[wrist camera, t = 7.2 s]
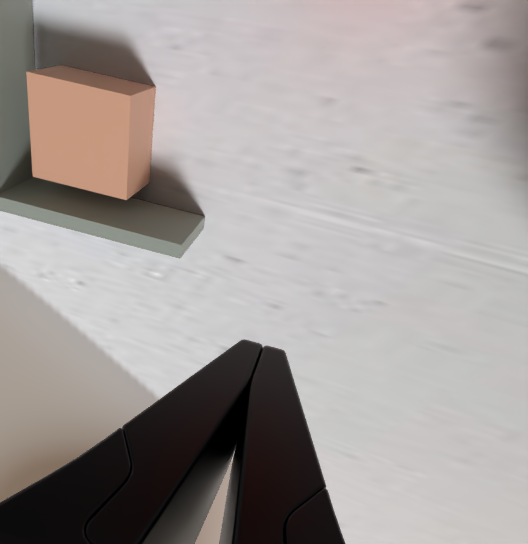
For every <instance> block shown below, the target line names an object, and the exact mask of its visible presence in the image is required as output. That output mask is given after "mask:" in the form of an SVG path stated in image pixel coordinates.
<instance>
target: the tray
mask: <svg viewBox="0 0 528 544" xmlns="http://www.w3.org/2000/svg"><path fill="white" fill-rule="evenodd" d="M32 70H35V56H34V33H33V11H32V0H0V211H3V212H7V213H11V214H15V215H18V216H22V217H26V218H30V219H33V220H37V221H41V222H45V223H48V224H52V225H56V226H60V227H63V228H67V229H71V230H75V231H78V232H82V233H86V234H90V235H94V236H97V237H101V238H105V239H109V240H112V241H116V242H120V243H124V244H127V245H131V246H135V247H139V248H142V249H146V250H150V251H154V252H157V253H161V254H165V255H169V256H172V257H176V258H181V257H182V255H183V254H184V253H185V252H186V250H187V249H188V248H189V247H190V245H191V244H192V243H193V241H194V240H195V239H196V238H197V236H198V235H199V234H200V232H201V231H202V230H203V228H204V220H205V217H204V216H201V215H197V214H193V213H189V212H185V211H181V210H177V209H173V208H170V207H166V206H162V205H158V204H154V203H150V202H146V201H142V200H139V199H135V198H131V197H130V198H129V199H127V200H124V199H120V198H116V197H112V196H108V195H104V194H100V193H96V192H92V191H88V190H84V189H80V188H76V187H72V186H68V185H64V184H60V183H56V182H52V181H48V180H44V179H40V178H36V177H33V174H32V157H31V141H30V124H29V108H28V91H27V75H26V72H27V71H32Z"/></svg>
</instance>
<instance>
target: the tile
mask: <svg viewBox="0 0 528 544" xmlns="http://www.w3.org/2000/svg"><path fill="white" fill-rule="evenodd" d="M26 75H27V91H28V108H29V124H30V141H31V157H32V174H33V177H36V178H40V179H44V180H48V181H52V182H56V183H60V184H64V185H68V186H72V187H76V188H80V189H84V190H88V191H92V192H96V193H100V194H104V195H108V196H112V197H116V198H120V199H124V200H127V199H129V198H130V197H131V196H133V195H134V194H135V193H137V192H138V191H139V190H140V189H142V188H143V187H144V186H146V185H147V184H148V183H149V182H150V168H151V152H152V137H153V122H154V106H155V91H156V87H155V86H150V85H146V84H142V83H137V82H133V81H129V80H124V79H120V78H115V77H111V76H107V75H102V74H98V73H94V72H89V71H85V70H81V69H76V68H72V67H67V66H63V65H59V66H54V67H48V68H43V69H38V70H32V71H27V72H26Z"/></svg>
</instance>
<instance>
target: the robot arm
mask: <svg viewBox="0 0 528 544" xmlns="http://www.w3.org/2000/svg"><path fill="white" fill-rule="evenodd" d="M234 451H235V453H234ZM233 454H234V457H233ZM232 457H233V463H232V468H231V473H230V480H229V486H228V492H227V498H226V504H225V511H224V517H223V523H222V529H221V536H220V541H219V544H345V541H344V539H343V536H342V533H341V530H340V527H339V524H338V521H337V518H336V515H335V513H334V510H333V506H332V503H331V500H330V496H329V493H328V490H327V489H326V484H325V481H324V478H323V474H322V471H321V468H320V464H319V461H318V458H317V455H316V451H315V448H314V445H313V442H312V438H311V435H310V432H309V428H308V425H307V422H306V419H305V415H304V412H303V409H302V405H301V402H300V399H299V396H298V392H297V389H296V386H295V383H294V379H293V376H292V373H291V369H290V366H289V363H288V360H287V356H286V353H285V351H284V350H281V349H278V348H274V347H270V346H264V347H262V345H261V344H259V343H256V342H252V341H249V340H241V341H239V342H238V343H237V344H235V345H234V346H233V347H231V348H230V349H228V350H227V351H226V352H224V353H223V354H221V355H220V356H219V357H217V358H216V359H215V360H213V361H212V362H210V363H209V364H208V365H206V366H205V367H204V368H202V369H201V370H199V371H198V372H197V373H195V374H194V375H193V376H191V377H190V378H188V379H187V380H186V381H184V382H183V383H181V384H180V385H179V386H177V387H176V388H175V389H173V390H172V391H170V392H169V393H168V394H166V395H165V396H164V397H162V398H161V399H159V400H158V401H157V402H155V403H154V404H153V405H151V406H150V407H148V408H147V409H146V410H144V411H143V412H141V413H140V414H139V415H137V416H136V417H135V418H133V419H132V420H130V421H129V422H128V423H126V424H125V425H124V426H123V427H122V428H119V429H118V430H117V431H115V432H113V433H112V434H111V435H109V436H108V437H107V438H106V439H104V440H102V441H101V442H100V443H98V444H97V445H95V446H94V447H92V448H91V449H89V450H88V451H86V452H85V453H83V454H82V455H80V456H79V457H77V458H76V459H74V460H73V461H71V462H69V463H67V464H66V465H64V466H62V467H61V468H59V469H58V470H56V471H54V472H53V473H51V474H49V475H48V476H46V477H44V478H42V479H41V480H39V481H37V482H35V483H34V484H32V485H30V486H28V487H27V488H25V489H23V490H21V491H20V492H18V493H16V494H14V495H13V496H11V497H9V498H7V499H6V500H4V501H2V502H1V503H0V544H195V542H196V539H197V537H198V535H199V532H200V530H201V528H202V526H203V524H204V521H205V519H206V517H207V514H208V512H209V510H210V508H211V506H212V503H213V501H214V499H215V496H216V494H217V492H218V490H219V487H220V485H221V483H222V481H223V478H224V476H225V474H226V472H227V469H228V467H229V464H230V462H231V459H232Z"/></svg>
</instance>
